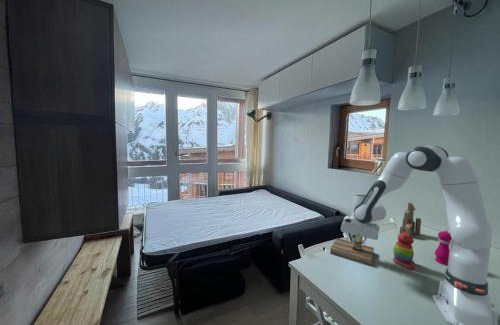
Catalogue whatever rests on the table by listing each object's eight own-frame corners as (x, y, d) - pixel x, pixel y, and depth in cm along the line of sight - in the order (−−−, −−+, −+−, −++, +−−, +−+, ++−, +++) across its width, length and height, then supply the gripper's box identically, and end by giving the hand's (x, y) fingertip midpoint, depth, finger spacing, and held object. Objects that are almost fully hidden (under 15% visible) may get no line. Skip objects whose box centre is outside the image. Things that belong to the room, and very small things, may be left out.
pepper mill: (454, 266, 115) (457, 232, 114) (439, 264, 117) (442, 231, 115) (444, 259, 122) (448, 227, 121) (431, 258, 124) (434, 226, 122)
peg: (361, 250, 123) (362, 234, 122) (353, 248, 125) (354, 232, 124) (361, 247, 126) (363, 232, 125) (354, 245, 128) (355, 230, 128)
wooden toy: (409, 238, 152) (411, 205, 150) (399, 234, 158) (401, 203, 156) (420, 235, 158) (423, 203, 156) (411, 231, 164) (413, 201, 162)
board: (370, 265, 114) (371, 259, 114) (330, 253, 127) (330, 248, 126) (373, 252, 129) (373, 247, 128) (336, 242, 141) (337, 237, 141)
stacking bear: (414, 271, 110) (416, 239, 109) (391, 263, 117) (393, 233, 115) (414, 262, 118) (417, 233, 117) (393, 256, 125) (395, 228, 124)
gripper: (379, 223, 121) (378, 245, 122) (342, 215, 133) (341, 236, 134) (379, 226, 116) (377, 249, 117) (340, 218, 128) (339, 239, 129)
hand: (358, 242), depth 125 cm, fingers closed on peg, 4 cm apart
